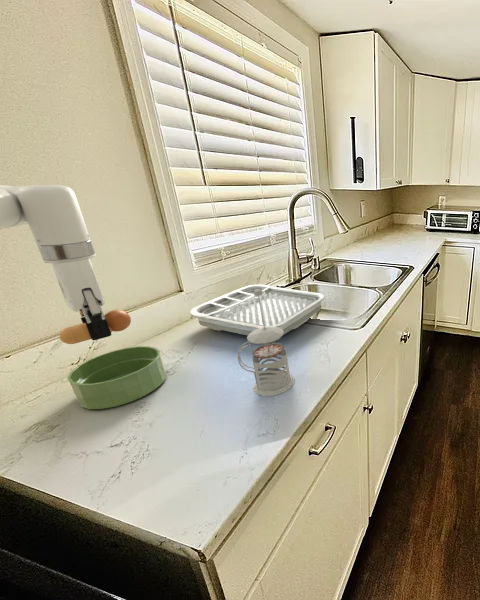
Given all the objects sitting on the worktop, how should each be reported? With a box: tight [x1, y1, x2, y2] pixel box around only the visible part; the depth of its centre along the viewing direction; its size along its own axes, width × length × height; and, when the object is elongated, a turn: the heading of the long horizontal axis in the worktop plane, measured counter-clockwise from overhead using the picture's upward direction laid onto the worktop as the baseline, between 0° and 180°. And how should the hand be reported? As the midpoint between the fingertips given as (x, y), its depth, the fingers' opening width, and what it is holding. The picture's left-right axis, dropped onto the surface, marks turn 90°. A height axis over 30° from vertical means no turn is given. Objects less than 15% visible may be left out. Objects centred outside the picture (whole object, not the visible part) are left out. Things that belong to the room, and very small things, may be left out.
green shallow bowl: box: [66, 345, 167, 410], centre depth 79 cm, size 17×17×7 cm
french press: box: [237, 289, 296, 397], centre depth 76 cm, size 10×12×25 cm
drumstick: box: [59, 309, 132, 345], centre depth 70 cm, size 12×5×5 cm, turn 142°
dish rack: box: [189, 284, 326, 336], centre depth 114 cm, size 32×37×8 cm
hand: (99, 334), depth 70 cm, fingers closed on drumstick, 3 cm apart
